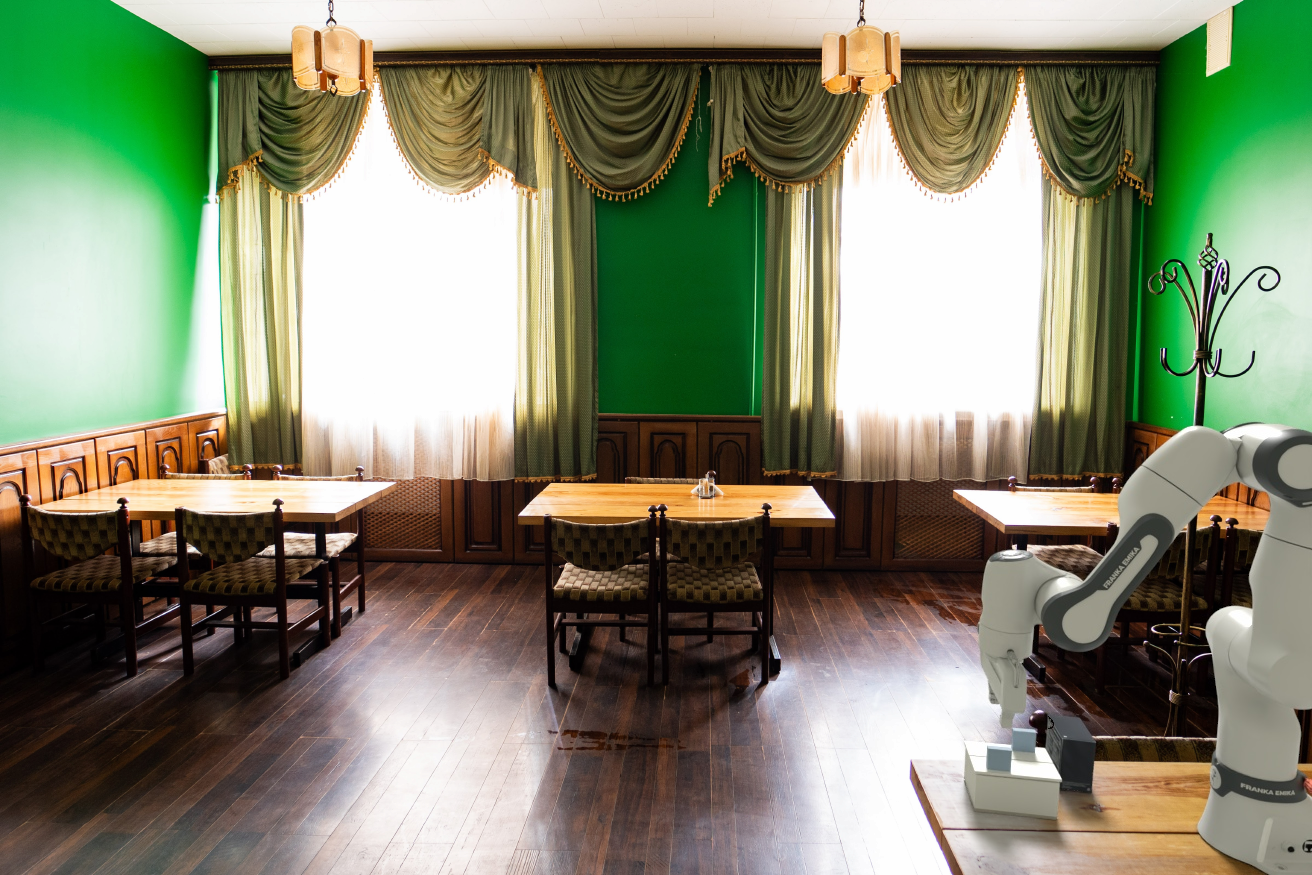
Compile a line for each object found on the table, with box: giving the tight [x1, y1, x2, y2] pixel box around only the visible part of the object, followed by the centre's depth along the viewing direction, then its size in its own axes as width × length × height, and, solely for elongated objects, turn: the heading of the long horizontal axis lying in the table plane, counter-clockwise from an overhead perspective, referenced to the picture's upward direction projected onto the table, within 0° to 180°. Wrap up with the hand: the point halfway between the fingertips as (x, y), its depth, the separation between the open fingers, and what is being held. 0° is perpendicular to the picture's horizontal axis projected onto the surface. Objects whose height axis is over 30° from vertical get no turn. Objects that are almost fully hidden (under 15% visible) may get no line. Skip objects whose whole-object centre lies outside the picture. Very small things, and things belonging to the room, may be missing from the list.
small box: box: [1044, 713, 1097, 794], centre depth 159 cm, size 11×6×10 cm, turn 168°
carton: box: [963, 748, 1060, 821], centre depth 152 cm, size 14×11×7 cm
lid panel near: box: [969, 745, 1062, 782], centre depth 148 cm, size 15×5×4 cm, turn 79°
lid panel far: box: [963, 727, 1053, 764], centre depth 154 cm, size 15×5×4 cm, turn 79°
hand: (999, 714), depth 146 cm, fingers open, 8 cm apart
